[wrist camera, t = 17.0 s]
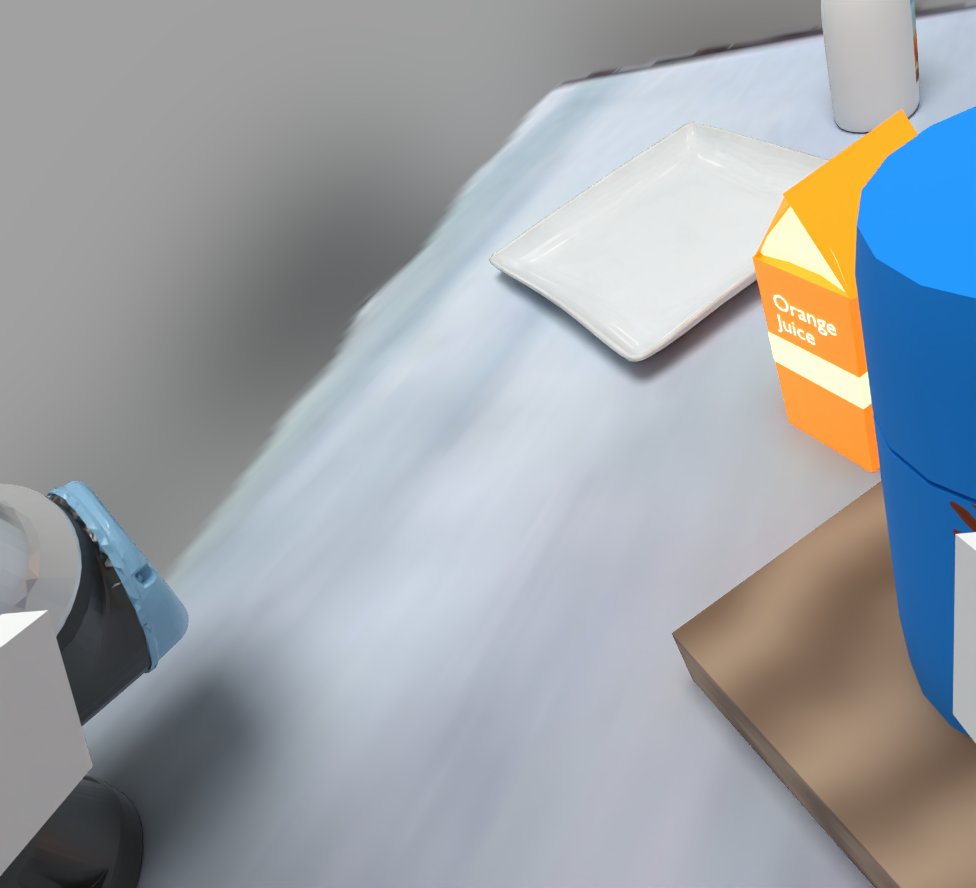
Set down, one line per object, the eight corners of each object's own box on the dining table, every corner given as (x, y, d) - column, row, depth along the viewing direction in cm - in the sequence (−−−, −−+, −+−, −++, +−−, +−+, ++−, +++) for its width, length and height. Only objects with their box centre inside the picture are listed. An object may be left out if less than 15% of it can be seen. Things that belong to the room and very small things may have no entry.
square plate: (697, 148, 93) (689, 115, 91) (897, 215, 72) (893, 175, 70) (496, 282, 90) (482, 252, 88) (644, 393, 69) (631, 358, 67)
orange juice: (786, 421, 61) (732, 178, 48) (878, 352, 62) (848, 97, 49) (874, 475, 55) (838, 214, 42) (974, 397, 56) (968, 120, 43)
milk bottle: (915, 127, 79) (900, -104, 67) (828, 140, 83) (798, -76, 71) (924, 86, 84) (912, -140, 71) (841, 99, 88) (815, -111, 75)
